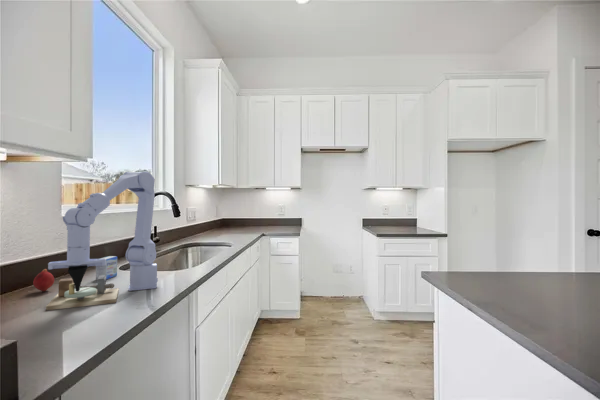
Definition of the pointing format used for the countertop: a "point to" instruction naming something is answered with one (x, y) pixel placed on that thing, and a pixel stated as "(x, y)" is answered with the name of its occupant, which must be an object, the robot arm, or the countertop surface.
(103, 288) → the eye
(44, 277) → the onion
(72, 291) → the handwheel
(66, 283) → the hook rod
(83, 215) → the robot arm
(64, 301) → the board
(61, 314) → the countertop surface
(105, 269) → the medicine box
